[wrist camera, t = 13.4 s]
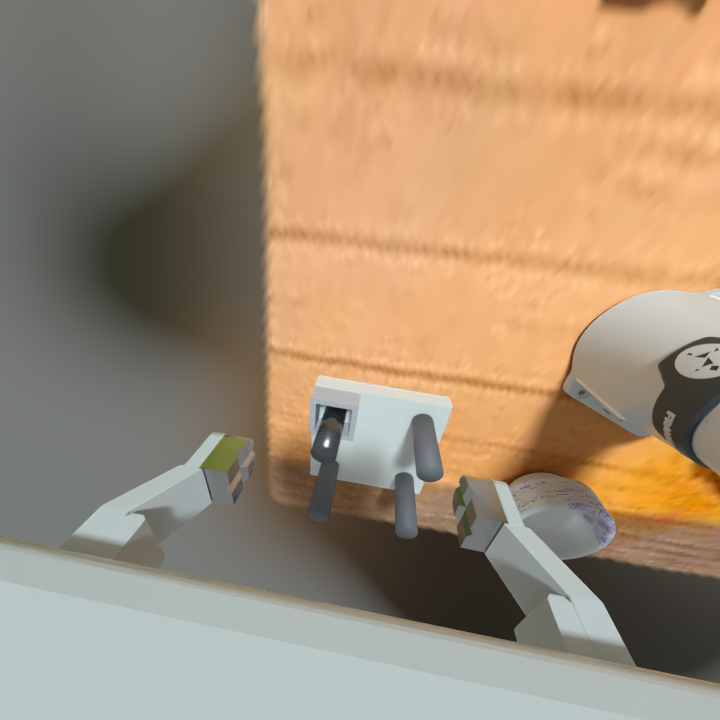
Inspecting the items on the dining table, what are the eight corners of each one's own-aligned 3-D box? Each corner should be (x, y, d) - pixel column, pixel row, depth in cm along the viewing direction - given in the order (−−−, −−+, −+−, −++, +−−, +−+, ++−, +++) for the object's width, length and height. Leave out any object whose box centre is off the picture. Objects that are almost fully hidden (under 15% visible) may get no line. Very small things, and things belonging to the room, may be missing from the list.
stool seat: (449, 397, 40) (468, 458, 30) (418, 482, 50) (424, 549, 40) (319, 375, 41) (295, 427, 31) (313, 463, 50) (293, 525, 40)
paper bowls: (472, 495, 50) (485, 540, 43) (534, 446, 43) (562, 491, 36) (535, 524, 52) (557, 572, 45) (605, 483, 45) (643, 532, 38)
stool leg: (351, 407, 40) (342, 454, 32) (338, 418, 41) (326, 467, 33) (335, 394, 39) (320, 440, 31) (322, 407, 40) (305, 453, 33)
